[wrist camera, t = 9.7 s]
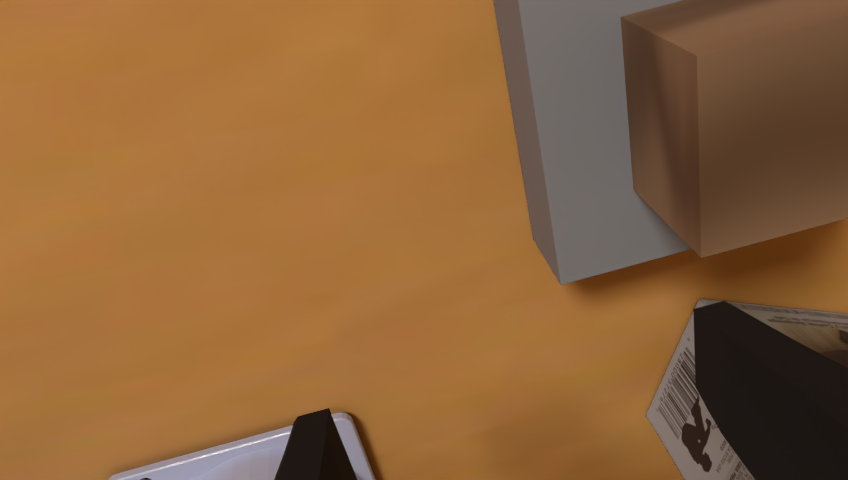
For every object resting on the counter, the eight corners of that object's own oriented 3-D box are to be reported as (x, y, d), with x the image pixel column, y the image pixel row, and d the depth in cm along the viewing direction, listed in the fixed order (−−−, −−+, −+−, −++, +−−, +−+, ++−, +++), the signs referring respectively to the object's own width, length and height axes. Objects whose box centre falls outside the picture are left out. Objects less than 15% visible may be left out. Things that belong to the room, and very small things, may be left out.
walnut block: (620, 16, 18) (697, 56, 14) (808, -33, 18) (929, -6, 14) (633, 188, 20) (701, 257, 17) (798, 144, 20) (899, 204, 17)
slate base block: (533, 238, 24) (560, 284, 21) (482, -69, 19) (509, -57, 16) (809, 162, 24) (870, 200, 22) (830, -161, 19) (912, -164, 17)
